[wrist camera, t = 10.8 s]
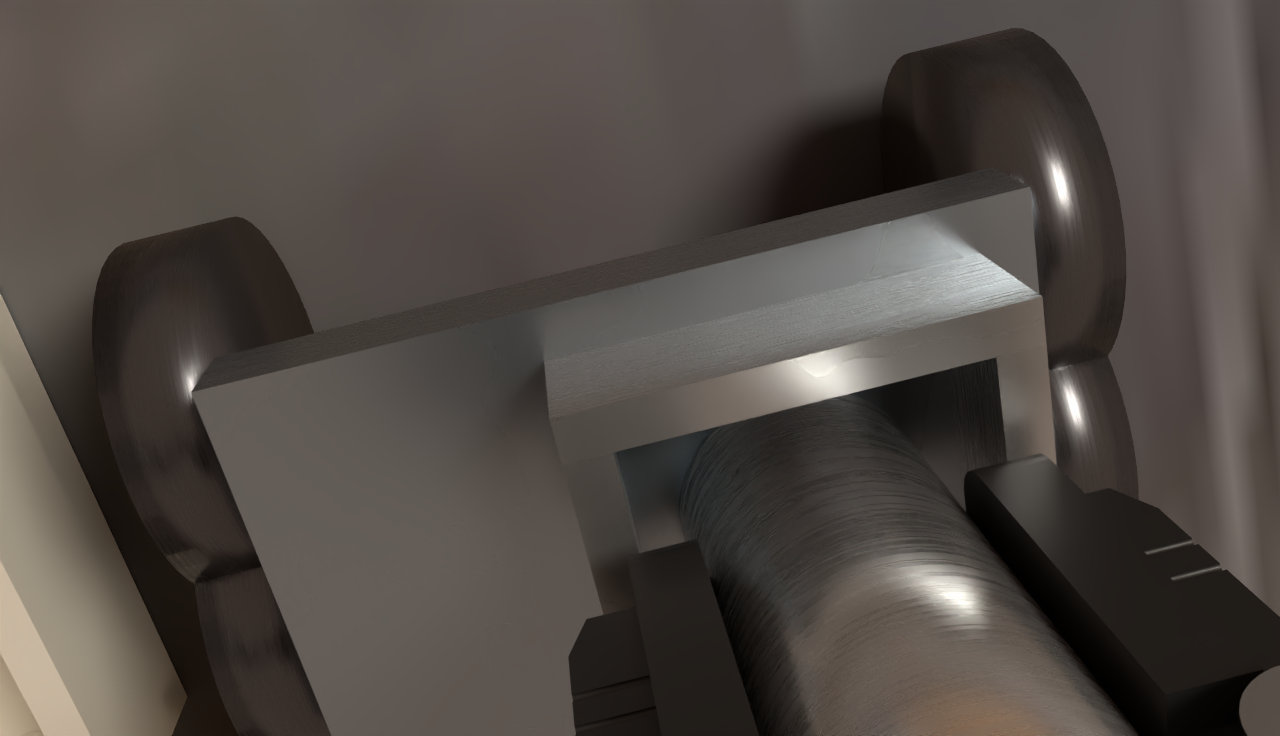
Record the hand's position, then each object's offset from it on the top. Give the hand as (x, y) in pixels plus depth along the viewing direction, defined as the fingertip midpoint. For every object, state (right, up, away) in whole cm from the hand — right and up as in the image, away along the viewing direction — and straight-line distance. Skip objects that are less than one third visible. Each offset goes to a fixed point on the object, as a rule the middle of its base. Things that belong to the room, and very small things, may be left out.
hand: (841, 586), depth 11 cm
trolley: (-2, +2, +7) cm, 8 cm away
